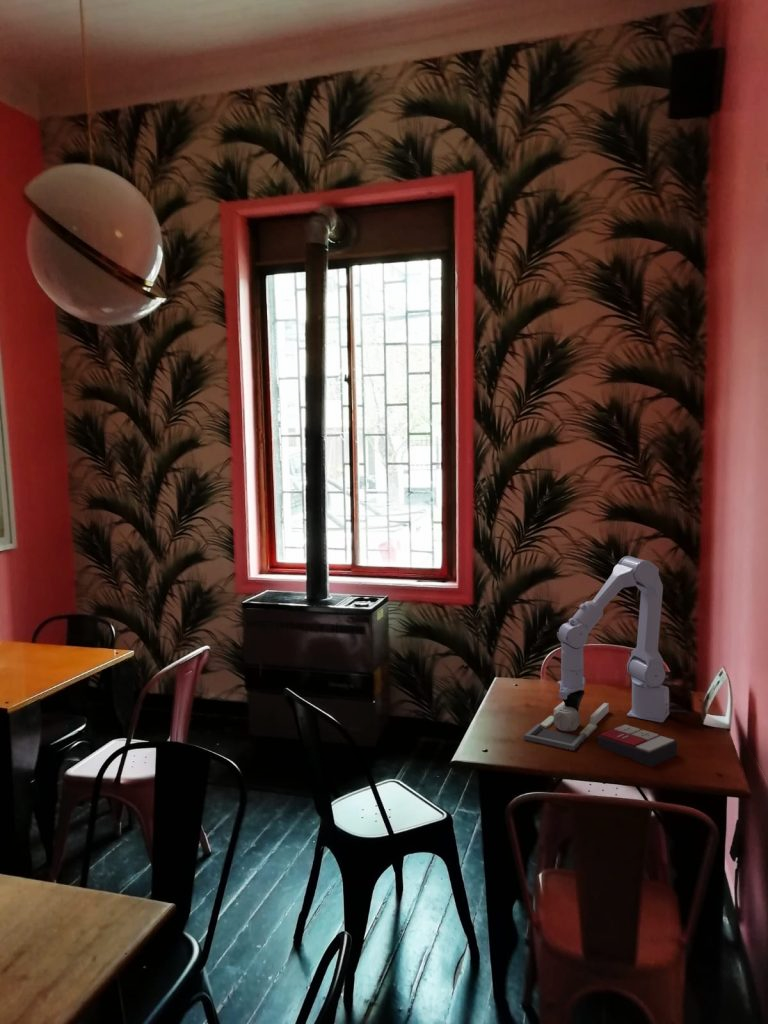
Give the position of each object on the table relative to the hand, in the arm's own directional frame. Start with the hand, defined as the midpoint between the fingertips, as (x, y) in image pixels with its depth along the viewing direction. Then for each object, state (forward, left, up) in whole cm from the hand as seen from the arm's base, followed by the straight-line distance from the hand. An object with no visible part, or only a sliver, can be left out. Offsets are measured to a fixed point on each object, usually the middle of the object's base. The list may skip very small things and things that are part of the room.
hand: (572, 717), depth 192 cm
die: (0, +4, -2) cm, 4 cm away
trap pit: (0, +12, -2) cm, 12 cm away
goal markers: (0, +3, -2) cm, 4 cm away
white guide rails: (0, -7, -2) cm, 7 cm away
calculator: (-19, +9, -2) cm, 21 cm away
